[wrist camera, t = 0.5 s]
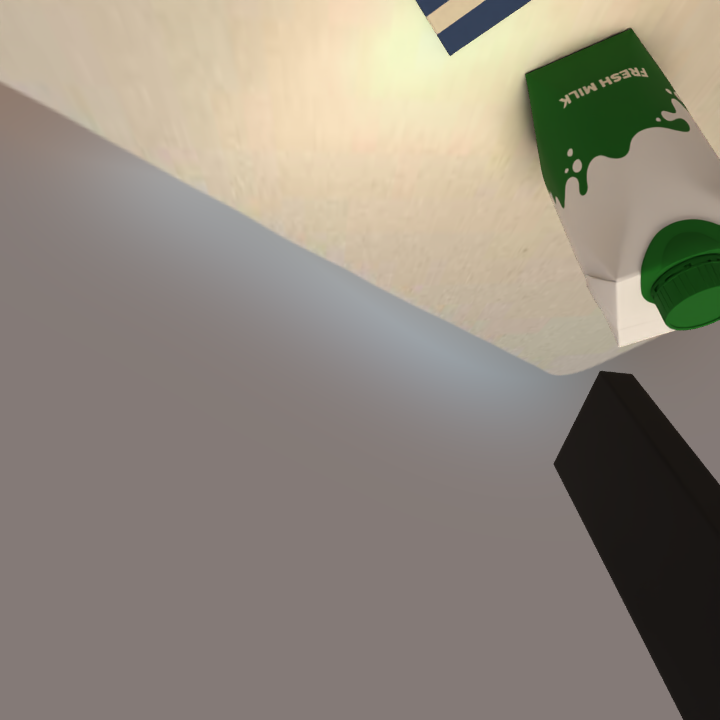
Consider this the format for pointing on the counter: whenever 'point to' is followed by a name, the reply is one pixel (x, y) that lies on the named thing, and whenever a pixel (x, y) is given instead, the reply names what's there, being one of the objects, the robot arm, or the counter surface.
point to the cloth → (465, 18)
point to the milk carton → (631, 187)
